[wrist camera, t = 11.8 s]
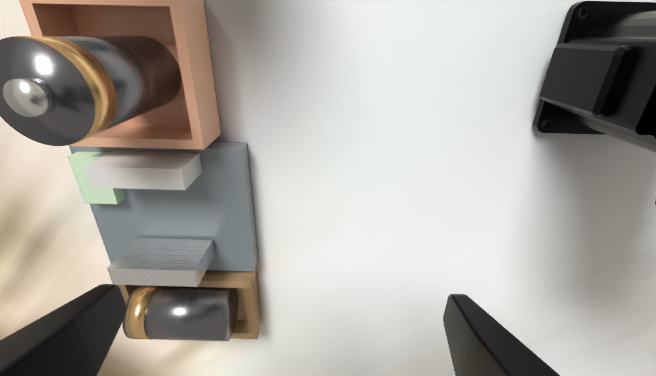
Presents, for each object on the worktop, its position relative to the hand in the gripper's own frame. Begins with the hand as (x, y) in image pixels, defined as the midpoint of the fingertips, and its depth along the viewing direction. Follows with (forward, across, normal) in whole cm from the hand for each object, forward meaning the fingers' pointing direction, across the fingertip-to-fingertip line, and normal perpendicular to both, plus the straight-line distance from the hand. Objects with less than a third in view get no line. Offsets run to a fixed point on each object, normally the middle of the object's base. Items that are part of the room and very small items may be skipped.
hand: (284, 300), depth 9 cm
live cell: (+12, +9, +12) cm, 19 cm away
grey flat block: (+12, +9, +4) cm, 16 cm away
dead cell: (+12, +9, -4) cm, 15 cm away
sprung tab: (+11, +9, +6) cm, 15 cm away
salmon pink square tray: (+12, +9, -4) cm, 16 cm away
